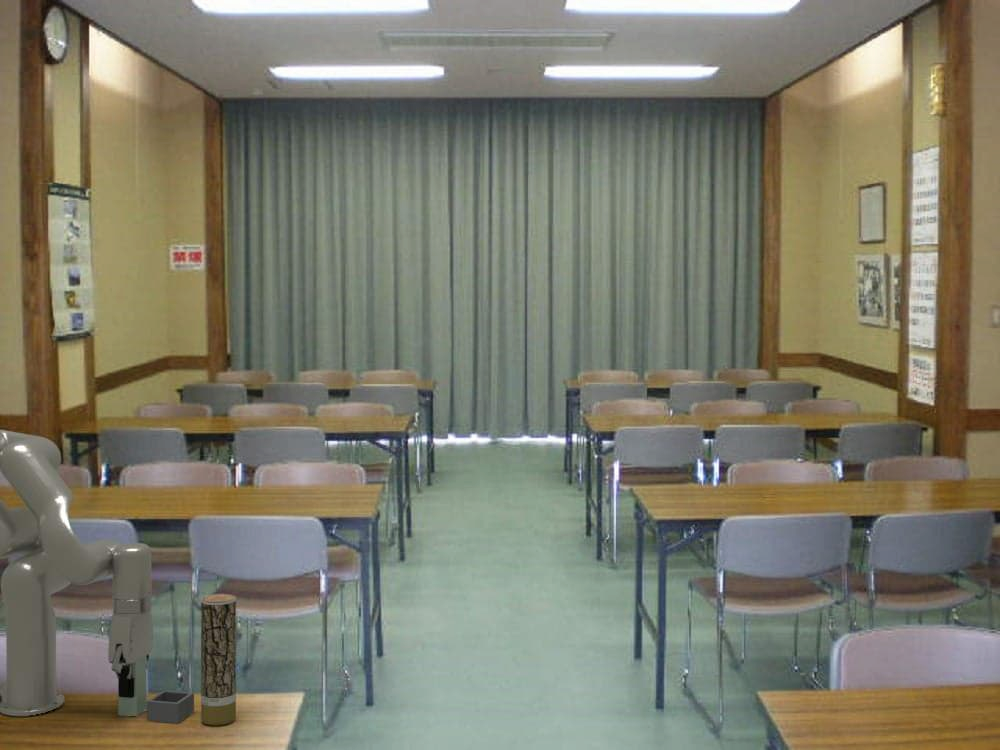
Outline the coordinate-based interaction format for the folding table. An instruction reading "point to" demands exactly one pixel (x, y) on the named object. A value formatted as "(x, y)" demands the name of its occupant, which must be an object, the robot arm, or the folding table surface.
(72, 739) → the folding table surface
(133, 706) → the peg
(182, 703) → the socket block
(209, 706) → the bark log chew toy
